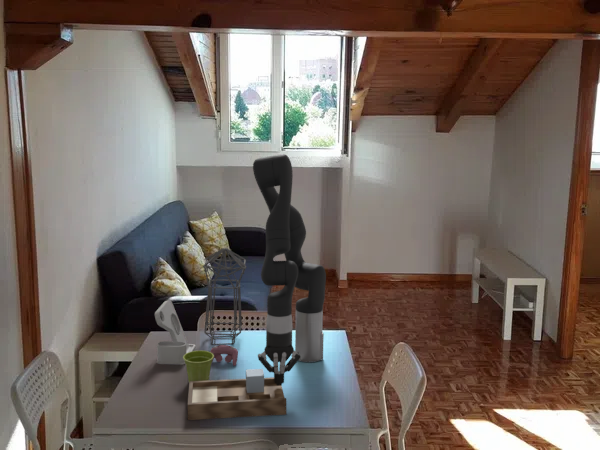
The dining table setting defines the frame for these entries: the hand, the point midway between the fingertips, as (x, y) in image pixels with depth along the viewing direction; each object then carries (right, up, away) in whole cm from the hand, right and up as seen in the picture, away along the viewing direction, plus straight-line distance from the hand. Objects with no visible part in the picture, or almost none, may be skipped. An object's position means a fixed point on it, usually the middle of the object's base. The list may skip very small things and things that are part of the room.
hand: (278, 384), depth 180 cm
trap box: (-11, -5, -4) cm, 13 cm away
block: (-7, -1, -1) cm, 7 cm away
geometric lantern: (-21, +4, +47) cm, 51 cm away
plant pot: (-25, -2, +10) cm, 27 cm away
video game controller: (-20, 0, +26) cm, 32 cm away
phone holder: (-37, +2, +32) cm, 49 cm away
